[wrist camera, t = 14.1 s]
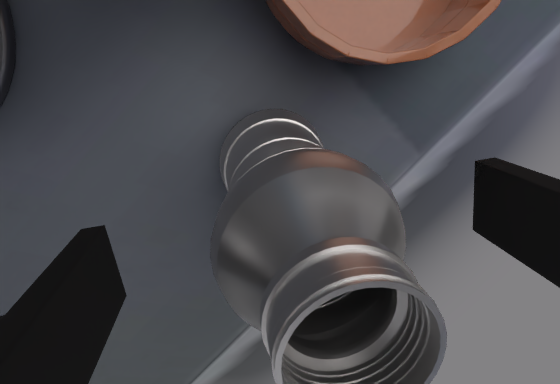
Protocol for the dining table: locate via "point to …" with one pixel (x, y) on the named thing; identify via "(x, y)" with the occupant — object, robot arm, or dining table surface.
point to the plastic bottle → (319, 260)
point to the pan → (380, 27)
